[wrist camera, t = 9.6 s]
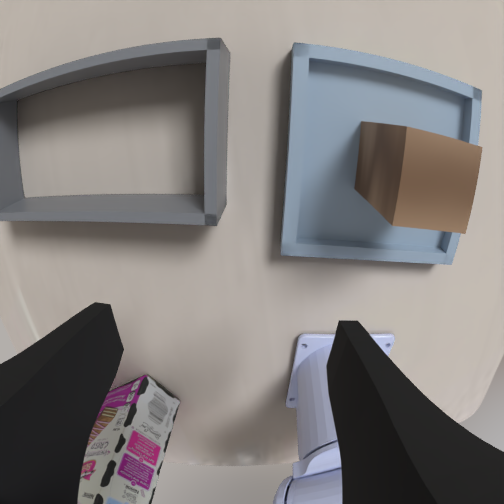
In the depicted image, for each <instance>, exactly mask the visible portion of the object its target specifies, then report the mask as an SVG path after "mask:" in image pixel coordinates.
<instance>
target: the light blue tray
mask: <svg viewBox="0 0 504 504" xmlns="http://www.w3.org/2000/svg"><path fill="white" fill-rule="evenodd" d="M481 99H482V90H480V89H478V88H475V87H473V86H471V85H468V84H466V83H463V82H461V81H458V80H456V79H453V78H451V77H448V76H445V75H442V74H440V73H437V72H434V71H431V70H428V69H425V68H421V67H418V66H415V65H412V64H408V63H405V62H401V61H397V60H393V59H390V58H385V57H381V56H377V55H373V54H368V53H363V52H358V51H353V50H347V49H341V48H335V47H328V46H321V45H313V44H304V43H294V44H293V47H292V57H291V82H290V104H289V123H288V141H287V157H286V173H285V188H284V202H283V215H282V228H281V240H280V250H281V255H285V256H303V257H320V258H338V259H356V260H374V261H392V262H411V263H429V264H447V265H452V262H453V258H454V255H455V252H456V249H457V245H458V242H459V238H460V234H461V233H454V232H446V231H437V230H428V229H418V228H408V227H398V226H392V225H391V224H390V223H389V222H388V221H387V220H386V219H385V218H384V217H383V216H382V215H381V214H380V213H379V212H378V211H377V210H376V209H375V208H374V207H373V206H372V205H371V204H370V203H369V202H368V201H367V200H365V199H364V198H363V197H362V196H361V195H360V194H359V193H358V192H357V191H356V190H355V189H354V187H355V179H356V170H357V162H358V152H359V142H360V130H361V121H365V122H375V123H384V124H393V125H400V126H407V127H412V128H416V129H420V130H424V131H428V132H432V133H436V134H440V135H444V136H447V137H451V138H454V139H458V140H461V141H464V142H467V143H471V144H474V145H477V146H478V140H479V130H480V118H481Z"/></svg>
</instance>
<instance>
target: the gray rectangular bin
mask: <svg viewBox="0 0 504 504" xmlns="http://www.w3.org/2000/svg"><path fill="white" fill-rule="evenodd" d="M195 63H206V84H205V123H204V195H191V194H103V195H70V196H49V197H32V198H24V192H23V186H22V178H21V170H20V160H19V149H18V132H17V100H19V99H22V98H25V97H27V96H30V95H33V94H36V93H39V92H42V91H46V90H49V89H52V88H55V87H59V86H62V85H66V84H70V83H73V82H77V81H81V80H86V79H90V78H94V77H99V76H104V75H109V74H114V73H119V72H125V71H131V70H138V69H144V68H152V67H160V66H170V65H181V64H195ZM229 72H230V52H229V50H228V48H227V47H226V45H225V44H224V42H223V41H222V39H221V38H206V39H192V40H181V41H171V42H163V43H156V44H149V45H143V46H137V47H131V48H126V49H121V50H116V51H111V52H107V53H103V54H99V55H95V56H91V57H87V58H83V59H80V60H76V61H73V62H70V63H66V64H63V65H60V66H57V67H54V68H51V69H48V70H45V71H43V72H40V73H37V74H34V75H32V76H29V77H27V78H24V79H22V80H19V81H17V82H15V83H12V84H10V85H8V86H6V87H4V88H1V89H0V221H87V222H130V223H161V224H188V225H211V226H217V224H218V222H219V220H220V218H221V215H222V213H223V211H224V209H225V207H226V185H227V133H228V99H229Z"/></svg>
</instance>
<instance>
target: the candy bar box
mask: <svg viewBox="0 0 504 504" xmlns="http://www.w3.org/2000/svg"><path fill="white" fill-rule="evenodd" d="M179 404H180V400H179V399H178V398H177V397H175V396H174V395H173V394H171V393H170V392H169V391H167V390H166V389H165V388H164V387H163V386H162V385H160V384H159V383H158V382H156V380H154V379H153V378H151V377H150V376H149V375H144V376H142V377H140V378H138V379H136V380H134V381H131V382H129V383H127V384H125V385H123V386H121V387H118V388H116V389H114V390H112V391H109V392H108V394H107V396H106V398H105V401H104V403H103V405H102V407H101V410H100V412H99V414H98V416H97V419H96V421H95V423H94V426H93V429H92V431H91V434H90V437H89V441H88V445H87V449H86V453H85V457H84V461H83V466H82V471H81V477H80V484H79V492H78V503H77V504H151V503H152V499H153V495H154V491H155V488H156V484H157V480H158V477H159V473H160V469H161V466H162V462H163V459H164V456H165V452H166V448H167V445H168V441H169V438H170V434H171V431H172V428H173V424H174V420H175V417H176V414H177V410H178V407H179Z"/></svg>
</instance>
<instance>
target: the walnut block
mask: <svg viewBox="0 0 504 504" xmlns="http://www.w3.org/2000/svg"><path fill="white" fill-rule="evenodd" d="M481 153H482V147H480V146H477V145H474V144H471V143H467V142H464V141H461V140H458V139H454V138H451V137H447V136H444V135H440V134H436V133H432V132H428V131H424V130H420V129H416V128H412V127H407V126H400V125H393V124H384V123H375V122H365V121H361V130H360V142H359V152H358V162H357V170H356V179H355V187H354V189H355V190H356V191H357V192H358V193H359V194H360V195H361V196H362V197H363V198H364V199H365V200H367V201H368V202H369V203H370V204H371V205H372V206H373V207H374V208H375V209H376V210H377V211H378V212H379V213H380V214H381V215H382V216H383V217H384V218H385V219H386V220H387V221H388V222H389V223H390V224H391V225H392V226H398V227H408V228H418V229H428V230H437V231H446V232H454V233H463V234H465V233H466V229H467V225H468V221H469V217H470V213H471V209H472V204H473V200H474V195H475V190H476V185H477V179H478V173H479V167H480V161H481Z"/></svg>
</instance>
